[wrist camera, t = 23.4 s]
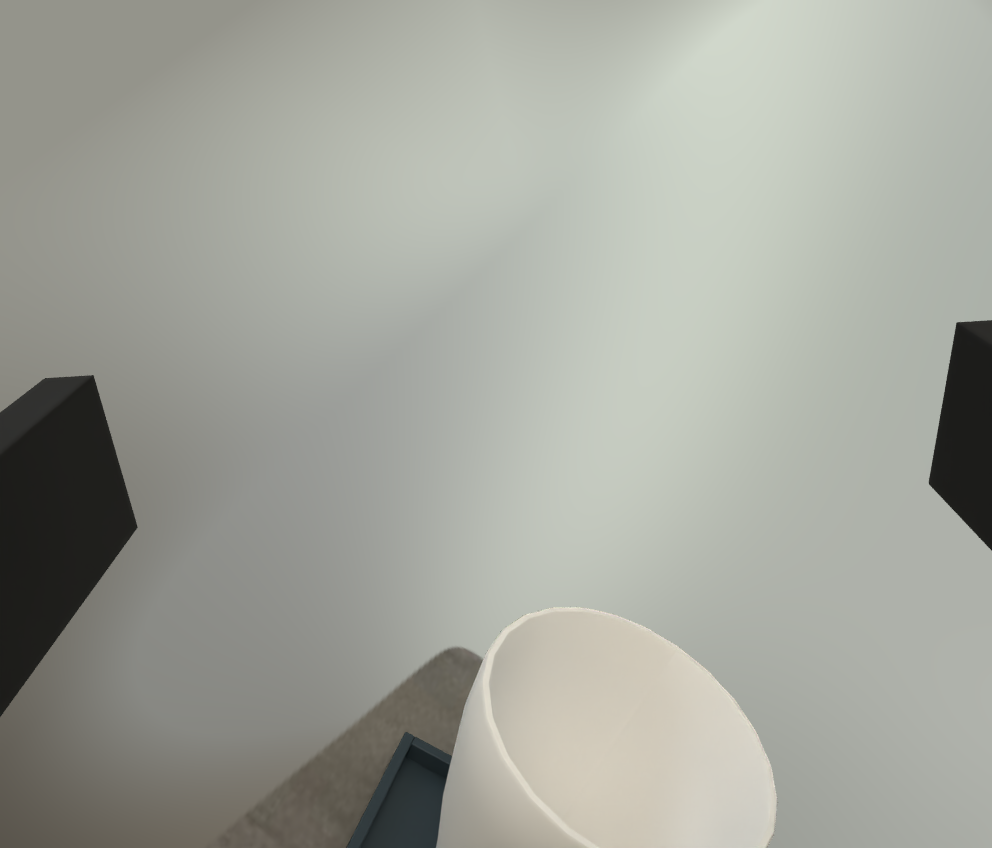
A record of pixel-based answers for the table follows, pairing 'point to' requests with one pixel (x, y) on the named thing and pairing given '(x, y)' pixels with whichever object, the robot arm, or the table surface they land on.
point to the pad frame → (406, 799)
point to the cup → (602, 745)
